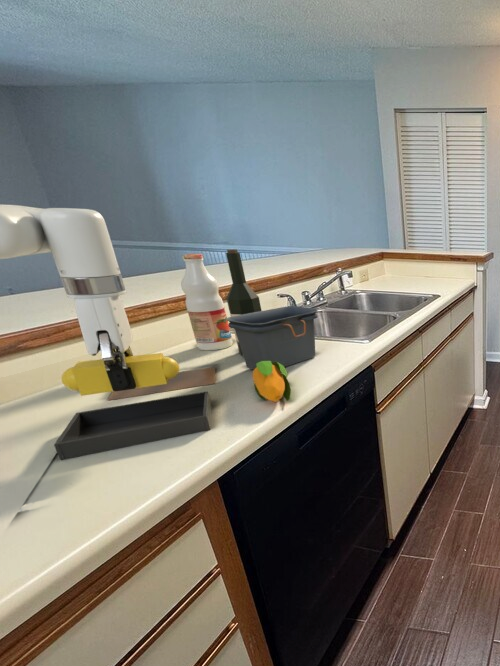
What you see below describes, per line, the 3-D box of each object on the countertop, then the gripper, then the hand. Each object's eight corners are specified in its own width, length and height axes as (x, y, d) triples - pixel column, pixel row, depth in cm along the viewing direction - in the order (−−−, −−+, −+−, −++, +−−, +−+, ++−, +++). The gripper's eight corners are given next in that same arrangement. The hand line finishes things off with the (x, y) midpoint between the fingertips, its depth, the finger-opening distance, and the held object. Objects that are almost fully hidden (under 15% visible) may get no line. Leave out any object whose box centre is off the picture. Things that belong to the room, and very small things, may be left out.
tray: (61, 463, 72) (53, 444, 70) (83, 429, 83) (76, 412, 81) (211, 432, 83) (206, 416, 81) (212, 405, 94) (208, 391, 92)
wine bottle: (242, 348, 131) (219, 248, 120) (272, 347, 134) (252, 248, 122) (235, 357, 124) (209, 251, 113) (267, 355, 126) (245, 250, 115)
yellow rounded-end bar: (64, 398, 73) (53, 371, 71) (71, 389, 76) (60, 363, 74) (181, 382, 81) (174, 357, 79) (183, 374, 85) (176, 351, 83)
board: (108, 401, 94) (107, 400, 94) (119, 381, 105) (119, 380, 105) (214, 384, 105) (214, 383, 104) (215, 368, 115) (215, 366, 115)
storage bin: (297, 349, 132) (288, 304, 127) (335, 356, 127) (328, 309, 121) (232, 370, 114) (219, 318, 108) (273, 380, 108) (262, 325, 103)
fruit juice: (198, 344, 135) (173, 253, 124) (233, 340, 139) (212, 252, 129) (197, 352, 127) (170, 256, 117) (233, 348, 132) (210, 255, 121)
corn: (279, 351, 105) (291, 375, 90) (287, 379, 109) (300, 407, 93) (245, 358, 102) (252, 384, 86) (254, 386, 105) (263, 417, 90)
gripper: (78, 280, 77) (110, 374, 83) (48, 295, 64) (89, 405, 70) (131, 278, 80) (158, 368, 87) (114, 292, 67) (147, 397, 74)
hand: (127, 383), depth 79 cm, fingers closed on yellow rounded-end bar, 4 cm apart
